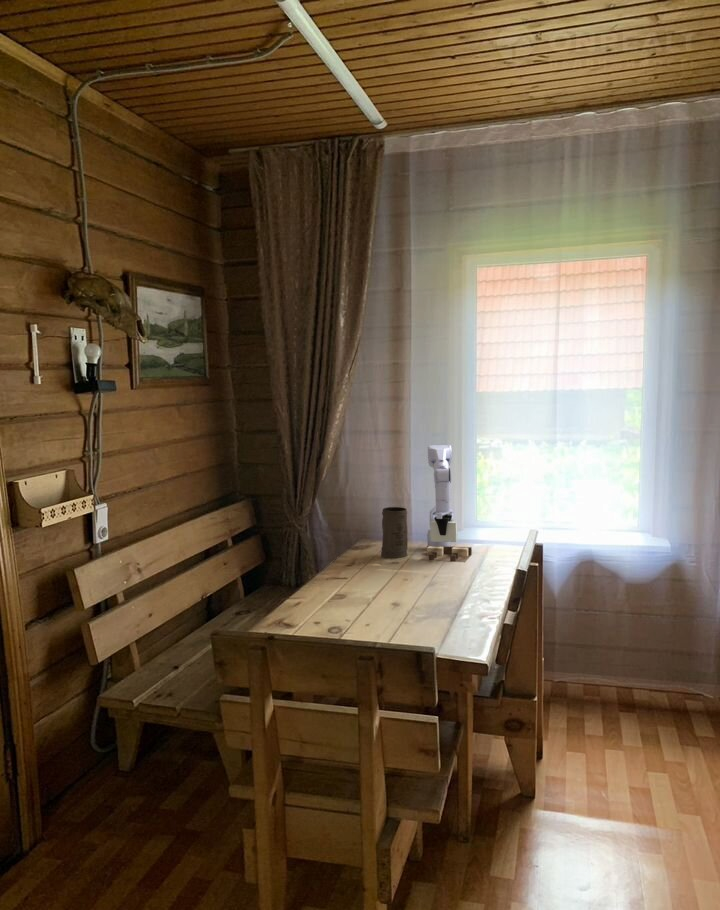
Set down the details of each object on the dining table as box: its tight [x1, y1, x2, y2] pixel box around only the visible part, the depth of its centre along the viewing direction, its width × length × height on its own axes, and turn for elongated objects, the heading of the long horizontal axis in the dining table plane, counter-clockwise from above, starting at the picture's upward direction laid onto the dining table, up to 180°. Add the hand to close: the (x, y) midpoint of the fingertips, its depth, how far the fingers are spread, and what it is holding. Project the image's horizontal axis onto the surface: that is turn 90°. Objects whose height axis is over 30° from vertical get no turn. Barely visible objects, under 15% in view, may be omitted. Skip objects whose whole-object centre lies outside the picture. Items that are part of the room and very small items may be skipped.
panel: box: [429, 521, 459, 543], centre depth 269 cm, size 10×3×8 cm, turn 70°
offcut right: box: [452, 546, 469, 557], centre depth 274 cm, size 6×3×3 cm, turn 71°
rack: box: [419, 545, 473, 563], centre depth 272 cm, size 18×14×4 cm
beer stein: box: [380, 506, 409, 560], centre depth 279 cm, size 15×11×20 cm
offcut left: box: [426, 546, 444, 556], centre depth 278 cm, size 6×3×3 cm, turn 71°
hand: (443, 534), depth 269 cm, fingers closed on panel, 3 cm apart
